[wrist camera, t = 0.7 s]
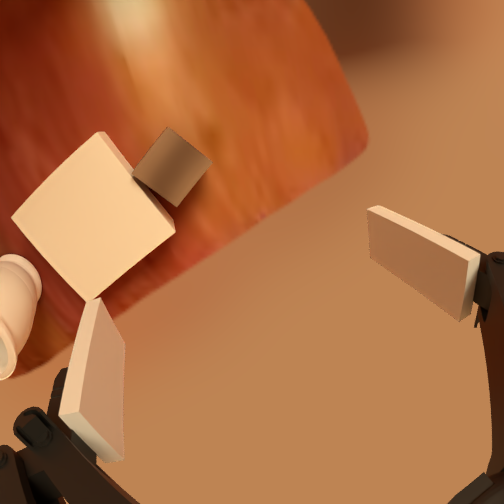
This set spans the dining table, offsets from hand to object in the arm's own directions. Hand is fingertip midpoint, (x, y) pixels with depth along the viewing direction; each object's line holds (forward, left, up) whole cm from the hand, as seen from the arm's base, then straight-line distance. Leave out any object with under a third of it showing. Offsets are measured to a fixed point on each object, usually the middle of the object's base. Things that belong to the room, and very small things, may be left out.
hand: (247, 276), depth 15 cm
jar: (-5, -27, -27) cm, 39 cm away
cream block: (-4, -11, -27) cm, 29 cm away
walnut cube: (-3, 0, -27) cm, 27 cm away
